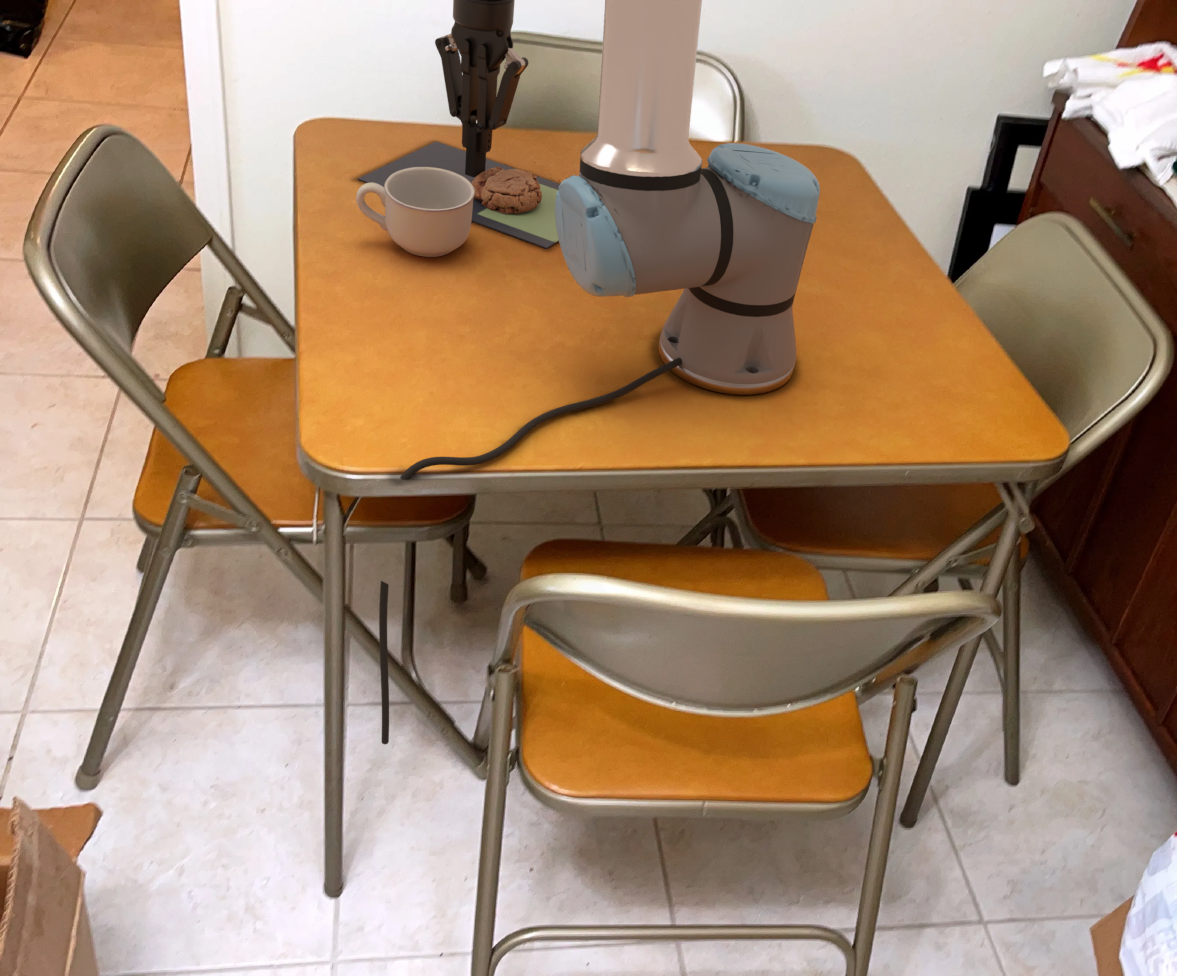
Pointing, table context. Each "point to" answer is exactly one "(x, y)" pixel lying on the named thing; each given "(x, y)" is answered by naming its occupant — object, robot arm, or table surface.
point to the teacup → (423, 209)
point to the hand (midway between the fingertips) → (475, 173)
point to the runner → (523, 226)
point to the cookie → (507, 190)
